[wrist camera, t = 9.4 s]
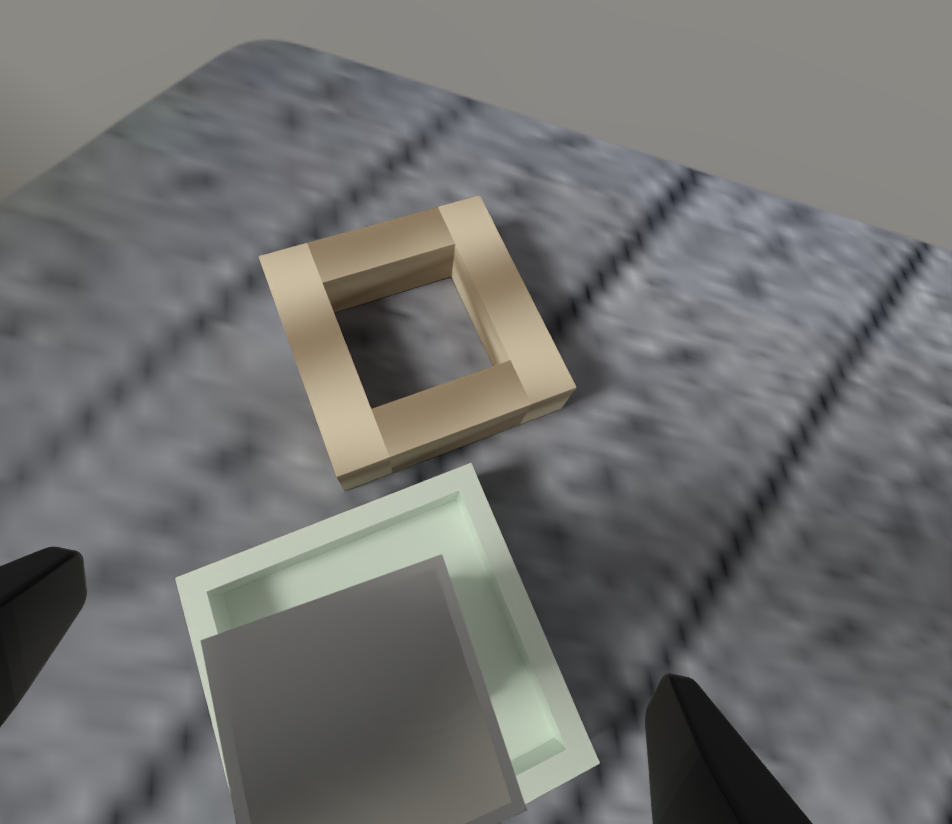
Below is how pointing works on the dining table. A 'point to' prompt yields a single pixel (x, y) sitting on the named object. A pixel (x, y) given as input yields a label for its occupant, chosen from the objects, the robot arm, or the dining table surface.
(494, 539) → the tray
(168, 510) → the dining table surface
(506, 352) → the collar block
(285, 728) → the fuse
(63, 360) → the dining table surface
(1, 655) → the robot arm
